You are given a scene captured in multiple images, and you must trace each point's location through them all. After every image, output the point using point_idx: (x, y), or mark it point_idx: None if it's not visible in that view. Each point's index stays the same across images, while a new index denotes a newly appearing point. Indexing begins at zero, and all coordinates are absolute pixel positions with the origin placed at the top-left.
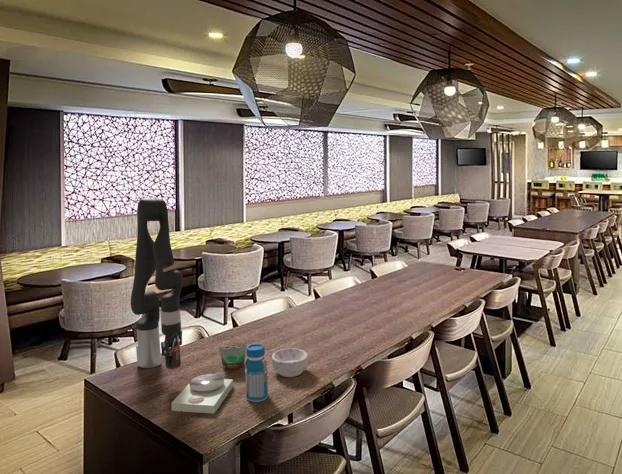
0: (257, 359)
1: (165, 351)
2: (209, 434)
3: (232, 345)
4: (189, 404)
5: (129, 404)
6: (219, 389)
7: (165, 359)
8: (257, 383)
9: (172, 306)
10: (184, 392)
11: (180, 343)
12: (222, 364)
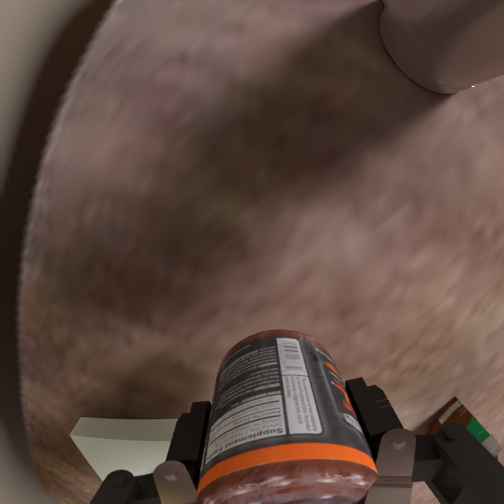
0: None
1: (162, 499)
2: (77, 499)
3: None
4: (100, 477)
5: (32, 240)
6: None
7: (221, 395)
8: None
9: None
10: (147, 450)
11: (427, 483)
12: (457, 406)
